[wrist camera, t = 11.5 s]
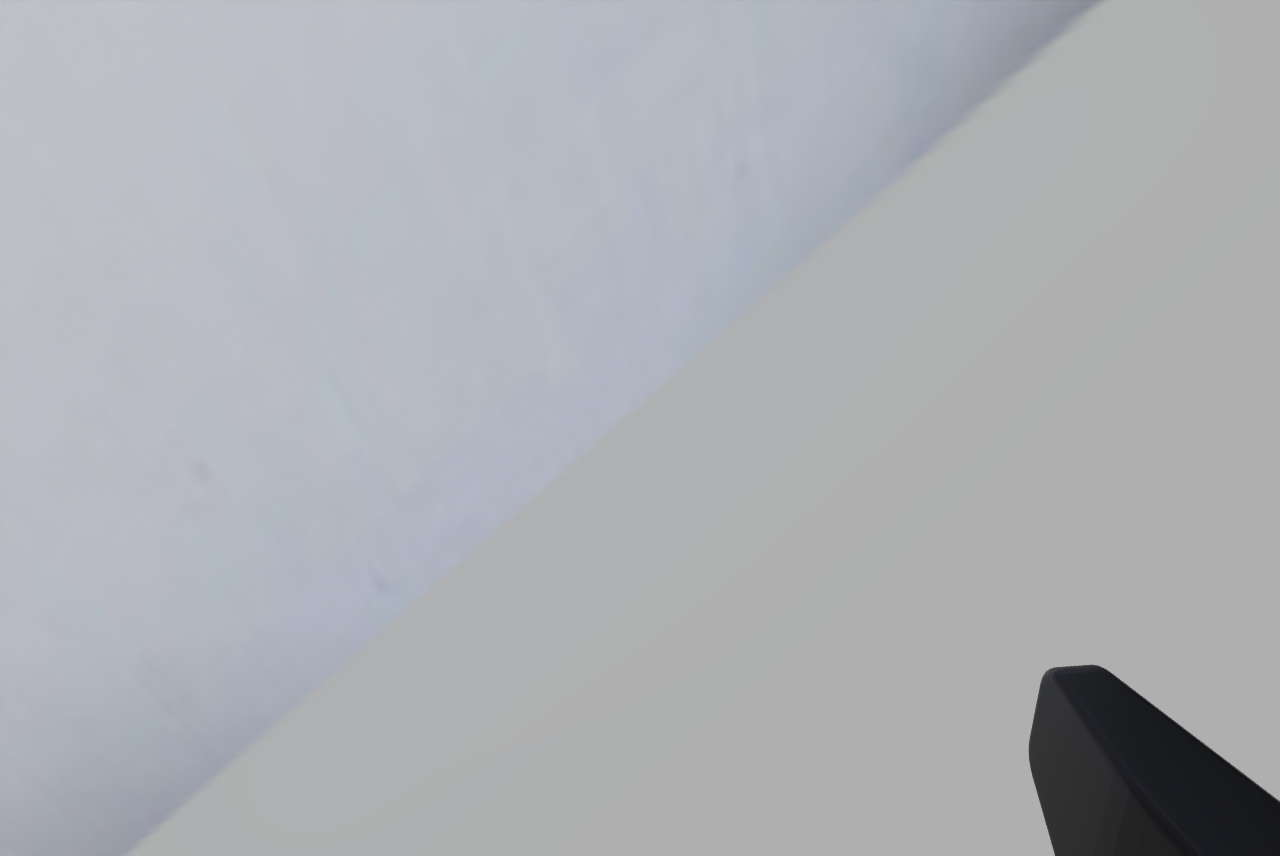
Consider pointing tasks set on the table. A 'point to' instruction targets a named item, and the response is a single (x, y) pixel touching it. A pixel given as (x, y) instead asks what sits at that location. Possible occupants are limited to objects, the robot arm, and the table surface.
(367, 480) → the table surface
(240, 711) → the table surface
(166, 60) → the table surface
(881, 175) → the table surface
